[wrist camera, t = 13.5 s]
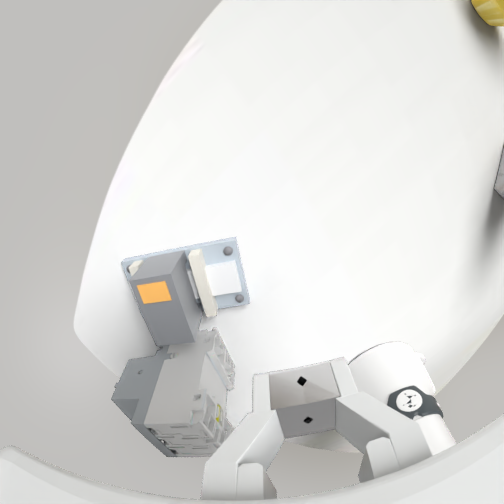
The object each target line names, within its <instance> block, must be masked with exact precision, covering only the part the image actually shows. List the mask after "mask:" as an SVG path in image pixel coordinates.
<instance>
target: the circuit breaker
mask: <svg viewBox="0 0 504 504" xmlns="http://www.w3.org/2000/svg"><path fill="white" fill-rule="evenodd" d="M220 344H221V345H220ZM159 348H160V351H159V350H158V351H157V353H156V355H155V356H151V357H144V358H137V359H130V360H129V361H128V363H127V365H126V367H125V369H124V372H123V374H122V376H121V378H120V380H119V382H118V383H116V385H115V388H116V389H115V391H114V393H113V396H112V398H111V399H112V401H114V403H115V404H116V405H117V406H118V407H119V408H120V409H121V411H122V412H123V413H124V414H125V415H126V416H127V417H128V418H129V419H130V420H131V421H132V422H131V424H132V425H133V426H134V427H135V428H136V429H137V430H138V431H139V432H140V433H141V434H142V435H143V436H144V437H145V438H146V439H148V440H149V441H150V442H151V443H152V444H153V445H154V446H155V447H156V448H158V449H159V450H160V451H161V452H162V453H163V454H164V455H166V456H167V457H206V456H212V455H213V454H214V453H215V452H216V451H217V449H218V448H219V447H220V446H221V445H222V444H223V442H224V441H225V440H226V439H227V438H228V437H229V435H230V434H231V433H232V425H231V424H230V422H229V421H228V419H227V418H226V402H227V390H229V391H230V390H233V389H234V375H235V373H234V368H235V365H234V363H233V361H232V359H231V357H230V355H229V353H228V351H227V349H226V347H225V344H224V342H223V340H222V338H221V336H220V334H219V332H218V330H217V328H216V327H214V328H213V330H212V331H208V330H207V329H206V330H201V331H198V333H197V337H196V341H195V343H185V344H174V345H161V346H159ZM228 376H230V379H229V377H228ZM225 430H227V434H226V432H225ZM161 440H163V441H164V443H162V442H161Z"/></svg>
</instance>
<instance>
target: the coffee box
mask: <svg viewBox="0 0 504 504" xmlns="http://www.w3.org/2000/svg"><path fill="white" fill-rule="evenodd" d="M494 189H495V190H496V191H497V192H498V193H499V194H500V195H501V196H502V197H503V198H504V147H503V153H502V158H501V162H500V167H499V171H498V175H497V180H496V183H495V187H494Z"/></svg>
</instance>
